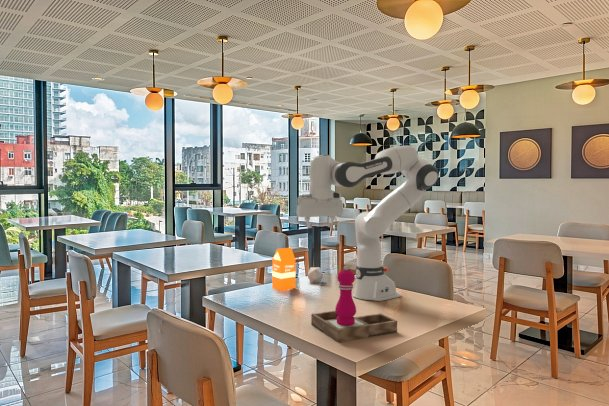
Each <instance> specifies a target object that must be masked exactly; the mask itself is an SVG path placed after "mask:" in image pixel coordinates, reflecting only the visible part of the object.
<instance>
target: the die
mask: <svg viewBox="0 0 609 406" xmlns="http://www.w3.org/2000/svg"><path fill="white" fill-rule="evenodd" d="M323 276H324V273H323V271H322V269H321V267H317V266H316V267H314V266H313V267H311V266H310V268H309V270H308V273H307V278H308V280H309V282H310V283H311V284H321V283H322V279H323Z"/></svg>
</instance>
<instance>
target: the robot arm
mask: <svg viewBox="0 0 609 406" xmlns="http://www.w3.org/2000/svg"><path fill="white" fill-rule="evenodd" d="M396 173H399V174H401V175H402V176H404V177H405V178H406V180H405V181H404V183H402V184H401V185H399V186H398V187H397V188H395V189H393V191H391V192H390V193H389V194H387V195H386V196H385V197H384V198H382V199H381V200H380V201H379V203H378V204H377V205H376V206H375V207H374V208H373V209H371V211H363V212H360V213H359V214H358V215H357V216H356V217H355V220H354V228H355V239H356V266H355V278H356V279H355V286H354V291H353V293H352V297H354V298H356V299H360V300H367V301H376V302H382V301H386V300H387V301H388V300H391V299H396V298H401V297H402V293H400V292H399V291H397V287H396V283H395V281H393V280H392V279H391V278H390V277H389V276H387V274H385V273H387V272H389V267H386V266H382V247H381V242H380V237H381V236H383V235H384V234H385V232H386V231H387V230H388V229H389V228H390V226H391V225H392V224H393V223H394V222H395V221H397V220H398V218H400V217H401V216H403V214H405V213H406V212H407V211H408V210H410V209H411V208H412V207H414V205H416V204H417V203H418V202H419V201H420V200H421V199H422V197H423V196H424V195H425V191H427V190H429V189H430V188H432V187H433V186H434V185H435V184H436V183H437V182H438V179H439V176H440V173H439V169H438V168H437V167H436V166H434V165H433V164H431V163H430V162H428V161H427V160H425V159H424V158H422V157H420V156H418V151H417V150H416V148H415V146H413V145H399V146H393V147H392V146H391V147H389V148H385V149H383V150H381V151H379V152H377V153H376V154H375V157H374V159H371V160H368V161H363V162H360V163H358V162H354V161H353V162H352V161H346V162H340V161H337V160H336V159H334V158H333V157H331V156H330V155H329V154H322V155H316V156H315V155H314V156H313V157H312V158H311V160H310V165H309V179H310V181H309V182H310V183H309V193H308V194H305V193H304V194H302V193H301V194H300V195H298V196H297V199H296V202H297V203H296V204H297V205H296V216H297V218H298V217H299V218H304V221H305V222H306V224H307V225H306V227H307V229H312V228H313V223H311V222H310V220H311V218H317V217H322V218H323V217H329V222H327V226H326V227H328V228H333V223H334V221H335V219H336V217H341V216H343V213H344V207H343V205H344V203H343V200H342V193H341V192H338V191H334V190H332V185H333V186H334V187H335V186H336V187H345V188H353V187H356V186H357V185H358V184H360V183H361V182H362V181H363V180H365V179H367V178H371V177H373V176H377V175H391V174H396Z"/></svg>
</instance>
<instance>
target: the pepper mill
mask: <svg viewBox="0 0 609 406" xmlns="http://www.w3.org/2000/svg"><path fill="white" fill-rule="evenodd" d="M355 278H356V275H355V273H354V272H353V271H352V270H350V268H349V266H348V265H344V266H343V269H342V270H340V271H339V272H338V273H337V281H338V282H339V284H338V288H339V298H338V300H337V303H336V305H335V310H334V311H335V312H336V314H337V315H338V317H337V323H338V324H340V325H347V326H348V325H353V324H354V323H355V318H354V316H355V315H356V314H357V307H356V304H355V302H354V299H353V289H354V282H355V281H356V279H355Z"/></svg>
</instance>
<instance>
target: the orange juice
mask: <svg viewBox="0 0 609 406" xmlns="http://www.w3.org/2000/svg"><path fill="white" fill-rule="evenodd" d="M271 266H272V273H271V274H272V276H271V277H272V279H271V280H272V281H271V282H272V283H271V285H272V289H274V290H276V289H277V291H279V290H280V291H279V292H283V290H284V291H289V290H288V289H290V290H294V289H293V288H295V289H296V275H297V274H296V273H297V272H296V258H295V254H294V252H293V249H292V247H284V248H277V249H276V251H275V254H274V255H273V258H272V265H271Z"/></svg>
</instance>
